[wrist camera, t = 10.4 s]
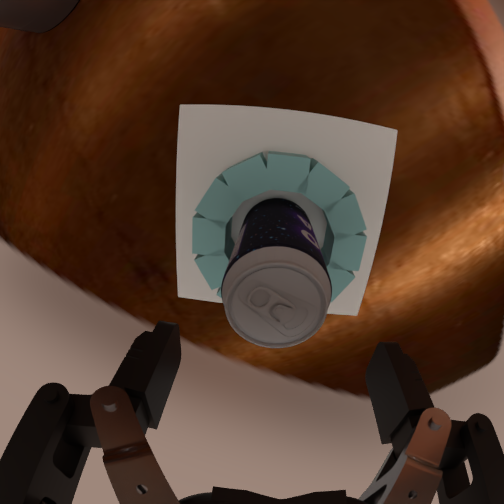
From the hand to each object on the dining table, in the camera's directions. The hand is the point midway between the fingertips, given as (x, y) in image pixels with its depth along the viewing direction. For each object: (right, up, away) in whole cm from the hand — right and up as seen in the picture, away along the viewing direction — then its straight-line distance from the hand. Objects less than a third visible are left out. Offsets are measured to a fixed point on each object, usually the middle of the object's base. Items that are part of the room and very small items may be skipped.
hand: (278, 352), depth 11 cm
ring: (+1, +6, +14) cm, 15 cm away
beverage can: (+1, +6, +14) cm, 15 cm away
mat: (+1, +7, +14) cm, 16 cm away
